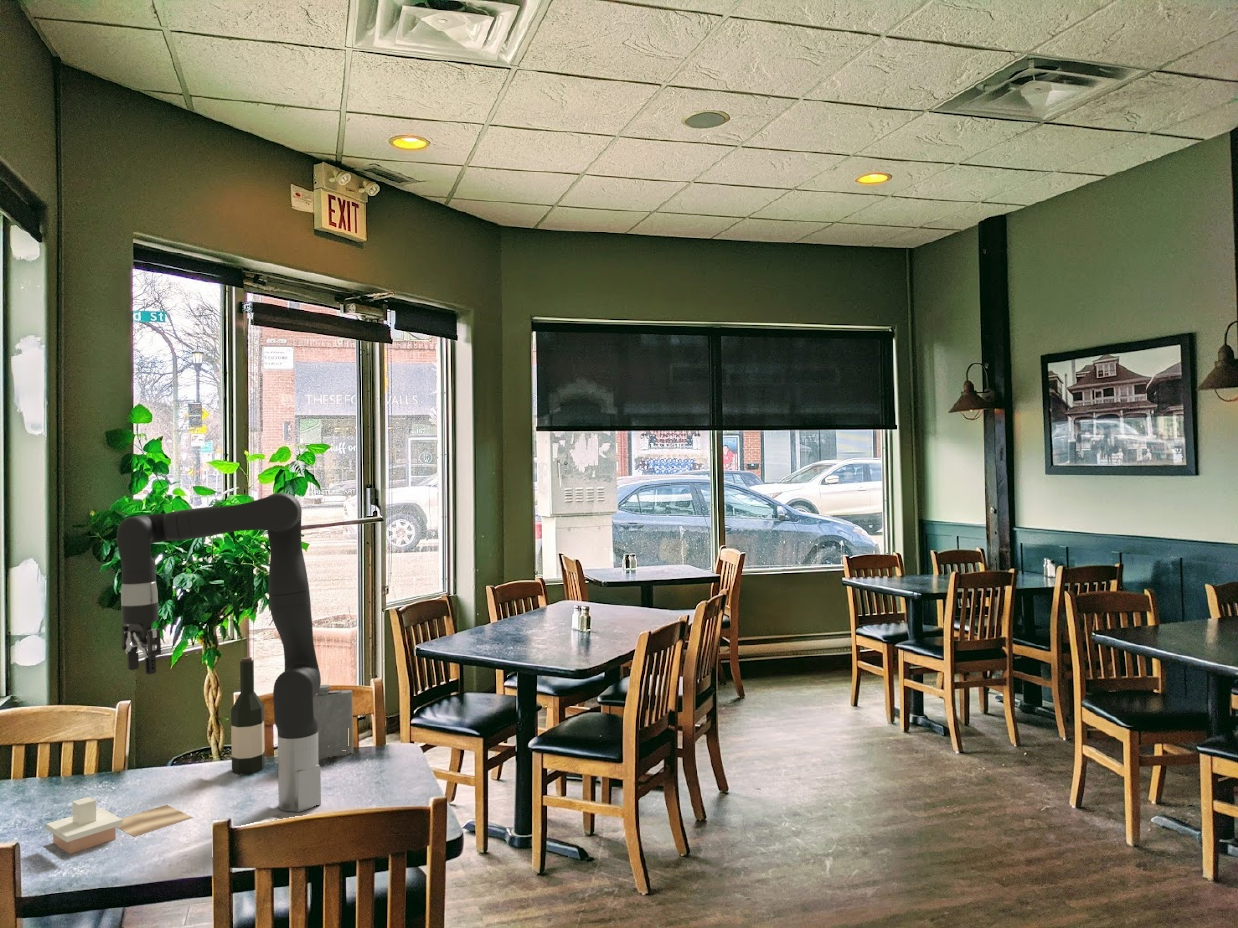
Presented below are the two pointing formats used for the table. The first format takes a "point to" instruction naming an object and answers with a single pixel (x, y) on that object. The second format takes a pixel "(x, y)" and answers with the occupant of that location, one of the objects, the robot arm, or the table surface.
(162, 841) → the table surface
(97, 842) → the dish
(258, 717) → the wine bottle
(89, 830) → the lid
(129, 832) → the mat
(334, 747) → the hip flask
